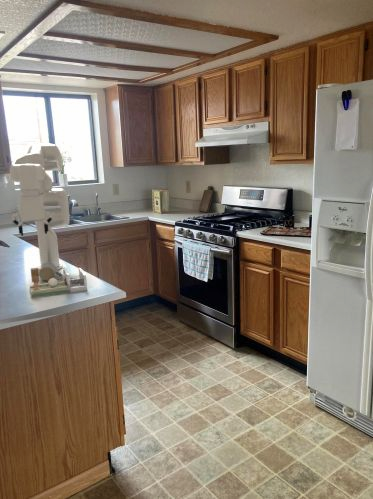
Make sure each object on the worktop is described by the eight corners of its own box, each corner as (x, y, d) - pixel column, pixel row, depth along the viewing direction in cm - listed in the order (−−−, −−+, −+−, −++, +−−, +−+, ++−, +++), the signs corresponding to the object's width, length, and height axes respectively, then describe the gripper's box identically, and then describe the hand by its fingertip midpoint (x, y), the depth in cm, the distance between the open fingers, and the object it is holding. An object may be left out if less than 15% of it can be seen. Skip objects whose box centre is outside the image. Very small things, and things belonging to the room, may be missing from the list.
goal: (64, 284, 189) (62, 267, 187) (81, 282, 192) (80, 265, 190) (68, 293, 176) (66, 275, 175) (87, 290, 179) (85, 272, 178)
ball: (48, 286, 181) (47, 277, 180) (57, 285, 183) (56, 276, 182) (49, 288, 178) (48, 280, 177) (58, 287, 179) (57, 278, 178)
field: (30, 289, 183) (29, 284, 182) (64, 284, 188) (64, 280, 188) (31, 297, 171) (31, 292, 171) (68, 292, 177) (67, 287, 176)
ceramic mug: (38, 282, 194) (37, 266, 192) (41, 277, 201) (40, 262, 200) (62, 280, 196) (61, 265, 194) (63, 276, 203) (62, 261, 202)
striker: (32, 287, 180) (30, 267, 178) (39, 286, 181) (37, 266, 179) (33, 291, 174) (31, 270, 172) (40, 290, 175) (38, 269, 173)
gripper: (50, 193, 179) (54, 231, 182) (7, 194, 172) (12, 235, 175) (52, 193, 172) (56, 233, 175) (8, 195, 165) (12, 237, 168)
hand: (34, 234), depth 175 cm, fingers open, 9 cm apart
